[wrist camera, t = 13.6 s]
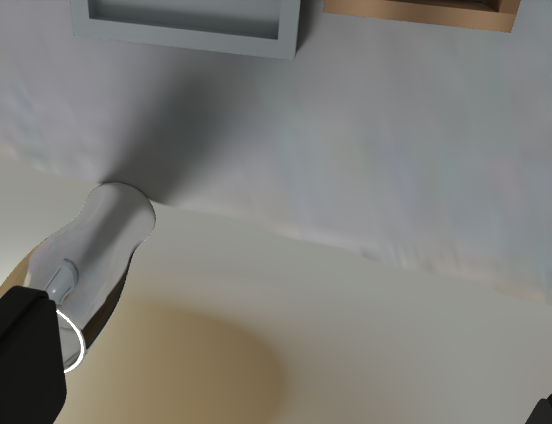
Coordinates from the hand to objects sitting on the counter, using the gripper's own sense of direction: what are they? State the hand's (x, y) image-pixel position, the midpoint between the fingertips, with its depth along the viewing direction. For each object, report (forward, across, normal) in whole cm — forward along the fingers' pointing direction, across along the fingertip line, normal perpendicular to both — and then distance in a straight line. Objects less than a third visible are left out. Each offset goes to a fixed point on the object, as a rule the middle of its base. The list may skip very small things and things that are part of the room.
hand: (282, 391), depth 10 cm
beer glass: (+29, +16, +16) cm, 36 cm away
